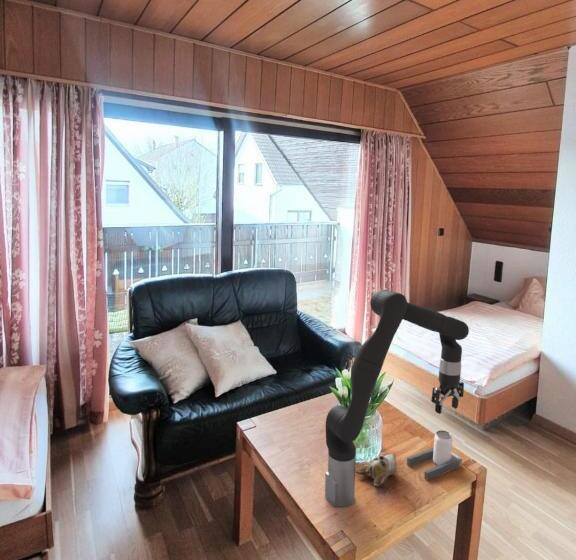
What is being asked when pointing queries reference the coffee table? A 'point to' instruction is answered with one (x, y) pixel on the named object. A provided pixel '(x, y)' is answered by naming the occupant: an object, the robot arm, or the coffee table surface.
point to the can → (442, 447)
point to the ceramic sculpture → (380, 469)
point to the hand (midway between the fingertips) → (446, 410)
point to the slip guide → (438, 470)
